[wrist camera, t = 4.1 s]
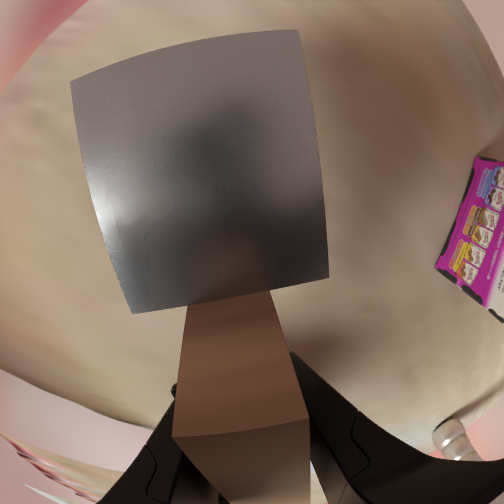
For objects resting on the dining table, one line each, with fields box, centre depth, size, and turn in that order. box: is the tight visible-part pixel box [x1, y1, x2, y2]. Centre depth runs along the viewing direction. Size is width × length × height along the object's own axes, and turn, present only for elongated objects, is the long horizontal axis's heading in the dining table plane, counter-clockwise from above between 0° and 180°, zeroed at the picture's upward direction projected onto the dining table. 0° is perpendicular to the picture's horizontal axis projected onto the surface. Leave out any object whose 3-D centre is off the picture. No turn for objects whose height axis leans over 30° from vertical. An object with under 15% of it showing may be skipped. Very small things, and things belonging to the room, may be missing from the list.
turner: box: [70, 30, 329, 504], centre depth 7 cm, size 17×6×5 cm, turn 9°
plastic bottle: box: [432, 418, 484, 461], centre depth 28 cm, size 6×7×20 cm
